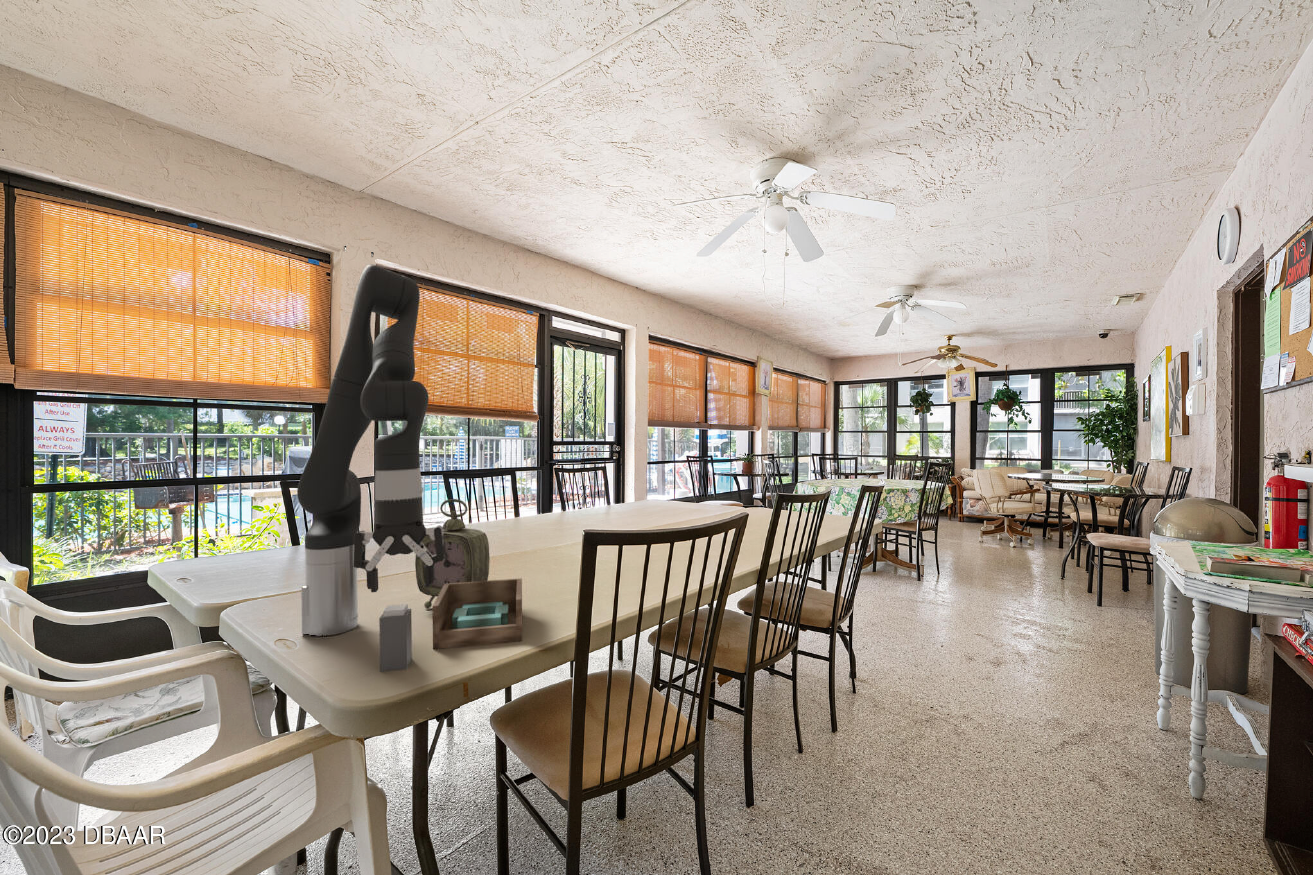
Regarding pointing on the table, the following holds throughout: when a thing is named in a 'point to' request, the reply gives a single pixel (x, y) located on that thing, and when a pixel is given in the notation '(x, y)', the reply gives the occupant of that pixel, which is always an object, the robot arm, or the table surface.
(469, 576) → the tabletop clock
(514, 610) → the walled box
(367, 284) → the robot arm
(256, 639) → the table surface
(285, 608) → the table surface
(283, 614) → the table surface
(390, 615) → the block
